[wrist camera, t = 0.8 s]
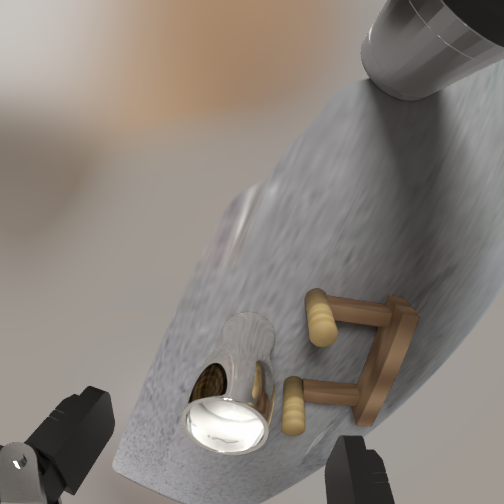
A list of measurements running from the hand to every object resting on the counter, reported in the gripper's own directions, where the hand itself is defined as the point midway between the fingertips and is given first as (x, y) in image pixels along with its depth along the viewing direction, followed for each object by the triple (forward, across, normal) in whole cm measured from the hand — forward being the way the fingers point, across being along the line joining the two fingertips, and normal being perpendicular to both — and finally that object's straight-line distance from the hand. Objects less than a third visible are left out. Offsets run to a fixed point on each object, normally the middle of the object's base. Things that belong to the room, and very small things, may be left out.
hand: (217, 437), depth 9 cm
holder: (+24, -10, +9) cm, 27 cm away
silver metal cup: (+24, 0, +9) cm, 26 cm away
